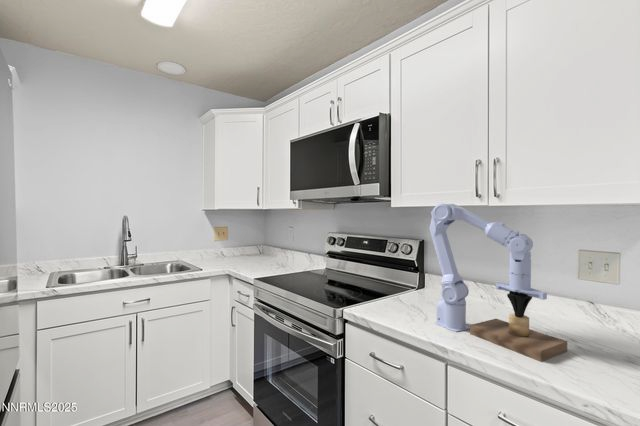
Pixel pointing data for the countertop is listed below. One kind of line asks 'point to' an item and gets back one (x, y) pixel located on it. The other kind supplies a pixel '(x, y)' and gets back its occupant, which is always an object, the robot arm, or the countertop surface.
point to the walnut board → (519, 340)
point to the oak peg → (519, 325)
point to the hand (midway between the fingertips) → (519, 317)
